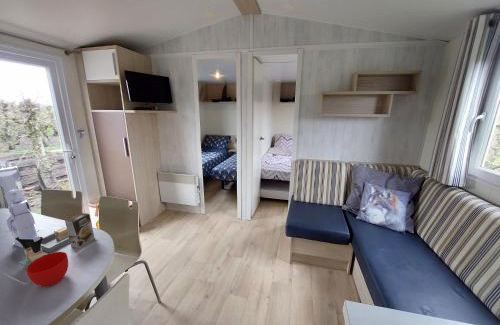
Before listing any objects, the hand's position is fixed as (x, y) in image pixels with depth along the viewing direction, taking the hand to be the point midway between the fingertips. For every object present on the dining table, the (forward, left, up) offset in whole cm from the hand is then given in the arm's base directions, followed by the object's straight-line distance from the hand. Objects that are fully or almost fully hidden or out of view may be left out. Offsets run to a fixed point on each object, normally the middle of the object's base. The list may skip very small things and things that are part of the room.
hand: (32, 250), depth 105 cm
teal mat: (0, 0, -6) cm, 6 cm away
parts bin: (-6, +12, -6) cm, 15 cm away
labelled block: (0, 0, -5) cm, 5 cm away
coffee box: (+8, +17, -6) cm, 20 cm away
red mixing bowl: (+22, -5, -6) cm, 23 cm away
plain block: (-6, +15, -5) cm, 17 cm away
